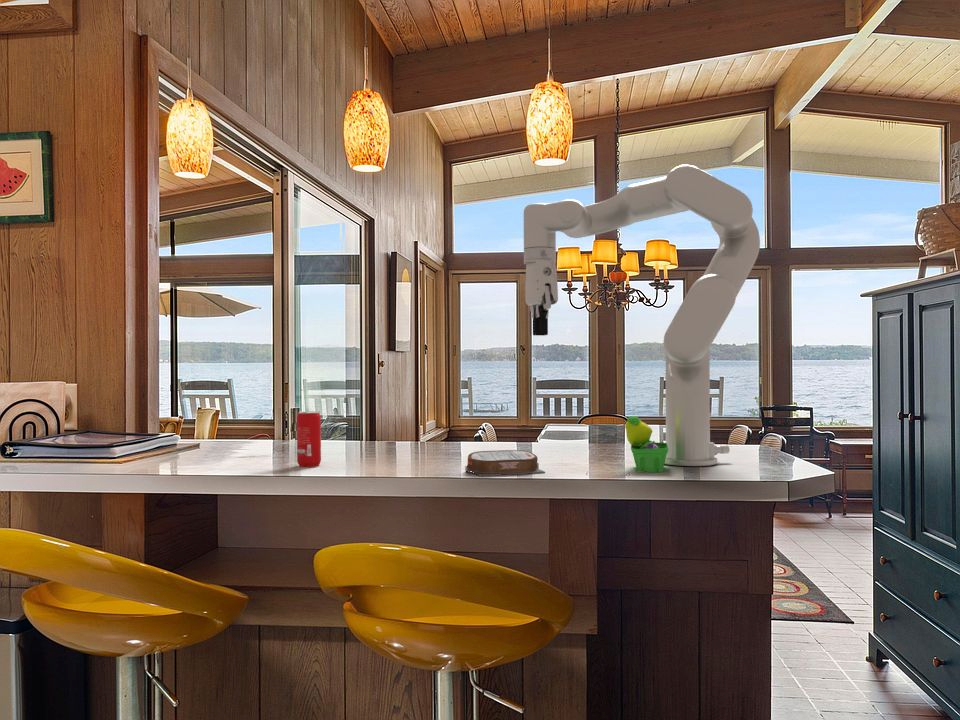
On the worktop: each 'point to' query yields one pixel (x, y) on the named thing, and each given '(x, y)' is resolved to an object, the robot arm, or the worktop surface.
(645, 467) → the fruit basket
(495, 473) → the mat
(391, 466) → the worktop surface
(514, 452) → the tin
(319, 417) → the beverage can
